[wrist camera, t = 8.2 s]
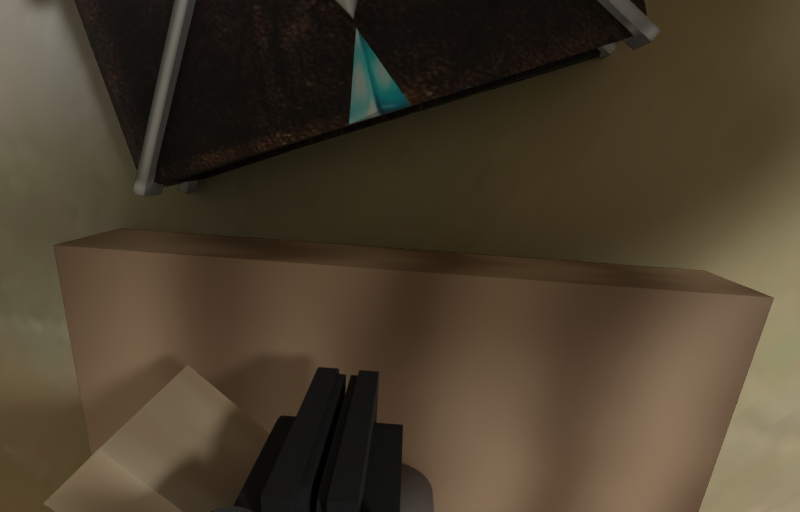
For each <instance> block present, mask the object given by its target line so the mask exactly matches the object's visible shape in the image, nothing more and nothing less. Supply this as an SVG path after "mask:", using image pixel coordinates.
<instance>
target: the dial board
mask: <svg viewBox="0 0 800 512" xmlns="http://www.w3.org/2000/svg"><path fill="white" fill-rule="evenodd" d="M53 246H54V251H55V257H56V262H57V268H58V274H59V279H60V285H61V290H62V296H63V302H64V307H65V313H66V318H67V324H68V330H69V335H70V341H71V346H72V352H73V358H74V363H75V369H76V374H77V380H78V386H79V391H80V397H81V402H82V408H83V414H84V419H85V425H86V430H87V436H88V442H89V447H90V453H91V456H92V455H93V454H94V453H95V452H96V451H97V450H98V449H99V448H100V447H101V446H102V445H103V444H105V443H106V442H107V441H108V440H109V439H110V438H111V437H112V436H113V435H114V434H115V433H116V432H117V431H118V430H119V429H120V428H121V427H123V426H124V425H125V424H126V423H127V422H128V421H129V420H130V419H131V418H132V417H133V416H134V415H135V414H136V413H137V412H138V411H139V410H141V409H142V408H143V407H144V406H145V405H146V404H147V403H148V402H149V401H150V400H151V399H152V398H153V397H154V396H155V395H156V394H157V393H158V392H160V391H161V390H162V389H163V388H164V387H165V386H166V385H167V384H168V383H169V382H170V381H171V380H172V379H173V378H174V377H175V376H176V375H178V374H179V373H180V372H181V371H182V370H183V369H184V368H185V367H186V366H187V365H189V366H190V367H191V368H192V369H193V370H195V371H196V372H197V373H198V374H199V375H201V376H202V377H203V378H204V379H205V380H207V381H208V382H209V383H210V384H211V385H213V386H214V387H215V388H216V389H217V390H218V391H220V392H221V393H222V394H223V395H224V396H226V397H227V398H228V399H229V400H230V401H232V402H233V403H234V404H235V405H236V406H238V407H239V408H240V409H241V410H242V411H244V412H245V413H246V414H247V415H248V416H250V417H251V418H252V419H253V420H254V421H256V422H257V423H258V424H259V425H260V426H262V427H263V428H264V429H265V430H266V431H268V432H269V433H271V431H272V429H273V427H274V425H275V423H276V421H277V419H278V418H279V417H280V416H281V415H284V416H296V415H297V413H298V411H299V409H300V406H301V404H302V402H303V400H304V397H305V395H306V393H307V391H308V388H309V386H310V384H311V382H312V379H313V377H314V375H315V373H316V370H317V368H318V367H327V368H338V369H339V374H345V375H346V390H347V387H348V383H349V380H350V376H351V375H358V373H359V370H367V371H379V386H378V404H377V422H376V423H387V424H400V425H403V441H402V464H404V465H408V466H411V467H413V468H415V469H417V470H418V471H420V472H421V473H422V474H423V475H424V476H425V477H426V478H427V479H428V481H429V482H430V484H431V487H432V491H433V503H434V512H699V509H700V506H701V503H702V500H703V497H704V495H705V492H706V489H707V486H708V483H709V480H710V478H711V475H712V472H713V469H714V466H715V463H716V461H717V458H718V455H719V452H720V449H721V446H722V444H723V441H724V438H725V435H726V432H727V429H728V427H729V424H730V421H731V418H732V415H733V412H734V410H735V407H736V404H737V401H738V398H739V395H740V393H741V390H742V387H743V384H744V381H745V378H746V376H747V373H748V370H749V367H750V364H751V361H752V359H753V356H754V353H755V350H756V347H757V344H758V342H759V339H760V336H761V333H762V330H763V328H764V325H765V322H766V319H767V316H768V313H769V311H770V308H771V305H772V302H773V299H774V298H773V297H771V296H768V295H766V294H763V293H760V292H758V291H755V290H753V289H750V288H748V287H745V286H742V285H740V284H737V283H735V282H732V281H730V280H727V279H725V278H722V277H719V276H717V275H714V274H712V273H709V272H707V271H701V270H687V269H673V268H660V267H646V266H632V265H618V264H604V263H591V262H577V261H563V260H549V259H535V258H522V257H508V256H494V255H480V254H466V253H453V252H439V251H425V250H411V249H398V248H384V247H370V246H356V245H342V244H329V243H315V242H301V241H287V240H273V239H260V238H246V237H232V236H218V235H204V234H191V233H177V232H163V231H149V230H135V229H122V228H120V229H116V230H112V231H108V232H104V233H100V234H96V235H92V236H88V237H85V238H81V239H77V240H73V241H69V242H65V243H61V244H57V245H53Z"/></svg>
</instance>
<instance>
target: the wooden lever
mask: <svg viewBox="0 0 800 512" xmlns="http://www.w3.org/2000/svg"><path fill="white" fill-rule="evenodd" d="M269 435H270V433H269V432H268V431H266V430H265V429H264V428H263V427H262V426H260V425H259V424H258V423H257V422H256V421H254V420H253V419H252V418H251V417H250V416H248V415H247V414H246V413H245V412H244V411H242V410H241V409H240V408H239V407H238V406H236V405H235V404H234V403H233V402H232V401H230V400H229V399H228V398H227V397H226V396H224V395H223V394H222V393H221V392H220V391H218V390H217V389H216V388H215V387H214V386H213V385H211V384H210V383H209V382H208V381H207V380H205V379H204V378H203V377H202V376H201V375H199V374H198V373H197V372H196V371H195V370H193V369H192V368H191V367H190V366H189V365H187V366H186V367H185V368H184V369H183V370H182V371H181V372H180V373H179V374H178V375H176V376H175V377H174V378H173V379H172V380H171V381H170V382H169V383H168V384H167V385H166V386H165V387H164V388H163V389H162V390H161V391H160V392H158V393H157V394H156V395H155V396H154V397H153V398H152V399H151V400H150V401H149V402H148V403H147V404H146V405H145V406H144V407H143V408H142V409H141V410H139V411H138V412H137V413H136V414H135V415H134V416H133V417H132V418H131V419H130V420H129V421H128V422H127V423H126V424H125V425H124V426H123V427H121V428H120V429H119V430H118V431H117V432H116V433H115V434H114V435H113V436H112V437H111V438H110V439H109V440H108V441H107V442H106V443H105V444H103V445H102V446H101V447H100V448H99V449H98V450H97V451H96V452H95V453H94V454H93V455H92V456H91V457H90V458H89V459H88V460H87V461H86V462H85V463H84V464H83V465H82V466H81V467H80V468H79V469H78V470H77V471H76V472H75V473H74V474H73V475H72V476H71V477H70V478H69V479H68V480H67V481H66V482H65V483H64V484H63V485H61V486H60V487H59V488H58V489H57V490H56V491H55V492H54V493H53V494H52V495H51V496H50V497H49V498H48V499H47V500H46V501H45V502H44V503H43V504H44V505H45V506H47V507H48V508H50V509H51V510H53V511H54V512H211V511H213V510H215V509H218V508H223V507H228V506H233V505H234V503H235V501H236V500H237V498H238V496H239V494H240V492H241V490H242V488H243V486H244V484H245V482H246V480H247V478H248V476H249V474H250V472H251V470H252V468H253V466H254V464H255V462H256V460H257V458H258V456H259V454H260V452H261V450H262V448H263V446H264V444H265V442H266V441H267V439H268V437H269ZM400 512H434V503H433V491H432V487H431V484H430V482H429V481H428V479H427V478H426V477H425V476H424V475H423V474H422V473H421V472H420V471H418V470H417V469H415V468H413V467H411V466H408V465H404V464H402V469H401V496H400Z"/></svg>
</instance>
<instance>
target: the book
mask: <svg viewBox="0 0 800 512" xmlns="http://www.w3.org/2000/svg"><path fill="white" fill-rule="evenodd" d="M75 3H76V6H77V9H78V11H79V14H80V17H81V20H82V22H83V25H84V28H85V30H86V33H87V36H88V39H89V41H90V44H91V47H92V49H93V52H94V55H95V58H96V60H97V63H98V66H99V68H100V71H101V74H102V77H103V79H104V82H105V85H106V87H107V90H108V93H109V96H110V98H111V101H112V104H113V107H114V109H115V112H116V115H117V117H118V120H119V123H120V126H121V128H122V131H123V134H124V136H125V139H126V142H127V145H128V147H129V150H130V153H131V155H132V158H133V161H134V164H135V166H136V169H137V175H136V179H135V184H134V189H133V193H135V194H137V195H140V196H142V197H147V196H153V195H160V194H161V193H162V189H163V187H164V186H171V185H175V184H179V185H178V189H177V190H178V191H181V192H183V193H186V194H187V193H193V192H195V189H196V186H197V182H198V180H200V179H206V178H209V177H212V176H215V175H218V174H221V173H224V172H227V171H230V170H233V169H236V168H239V167H242V166H246V165H249V164H252V163H255V162H258V161H261V160H264V159H267V158H270V157H273V156H276V155H279V154H282V153H286V152H289V151H292V150H295V149H298V148H301V147H304V146H307V145H310V144H313V143H317V142H320V141H323V140H326V139H330V138H333V137H336V136H340V135H343V134H346V133H350V132H353V131H356V130H359V129H363V128H366V127H369V126H373V125H376V124H379V123H382V122H386V121H389V120H392V119H396V118H399V117H402V116H406V115H409V114H412V113H415V112H419V111H422V110H425V109H429V108H432V107H435V106H439V105H442V104H445V103H448V102H452V101H455V100H458V99H462V98H465V97H468V96H472V95H475V94H478V93H481V92H485V91H488V90H491V89H495V88H498V87H501V86H504V85H508V84H511V83H514V82H518V81H521V80H524V79H527V78H531V77H534V76H537V75H541V74H544V73H547V72H550V71H554V70H557V69H560V68H564V67H567V66H570V65H573V64H577V63H580V62H583V61H587V60H590V59H593V58H596V57H600V58H601V59H603V58H605V57H607V56H609V55H611V53H612V52H613V51H614V50H615V48H616V47H617V46H618V45H617V44H616V43H615V42H617V41H621V40H623V41H624V42H625V43H626V44H627V45H628V46H629V47H630V48H631V49H632V50H635V49H637V48H639V47H641V46H644V45H646V44H648V43H650V42H652V40H653V39H654V38H655V37H656V36H657V35H658V33H659V32H660V31H661V30H660V29H659V28H658V27H657V26H656V25H655V24H654V23H653V22H652V21H651V20H650V19H649V18H648V17H647V14H646V8H645V2H644V0H75ZM194 180H197V181H194ZM189 181H190V182H189Z"/></svg>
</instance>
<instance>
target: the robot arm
mask: <svg viewBox="0 0 800 512" xmlns="http://www.w3.org/2000/svg"><path fill="white" fill-rule="evenodd" d="M378 386H379V371H367V370H359V373H358V375H351V376H350V380H349V383H348V387H347V390H346V375H345V374H339V369H338V368H327V367H318V368H317V370H316V373H315V375H314V377H313V379H312V382H311V384H310V386H309V388H308V391H307V393H306V395H305V397H304V400H303V402H302V404H301V406H300V409H299V411H298V413H297V415H296V416H284V415H281V416H280V417H279V418H278V419H277V421H276V423H275V425H274V427H273V429H272V431H271V433H270V435H269V437H268V439H267V441H266V442H265V444H264V446H263V448H262V450H261V452H260V454H259V456H258V458H257V460H256V462H255V464H254V466H253V468H252V470H251V472H250V474H249V476H248V478H247V480H246V482H245V484H244V486H243V488H242V490H241V492H240V494H239V496H238V498H237V500H236V501H235V503H234V505H233V506H228V507H223V508H218V509H215V510H213V511H211V512H400V496H401V469H402V441H403V425H400V424H387V423H376V422H377V404H378Z"/></svg>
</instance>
